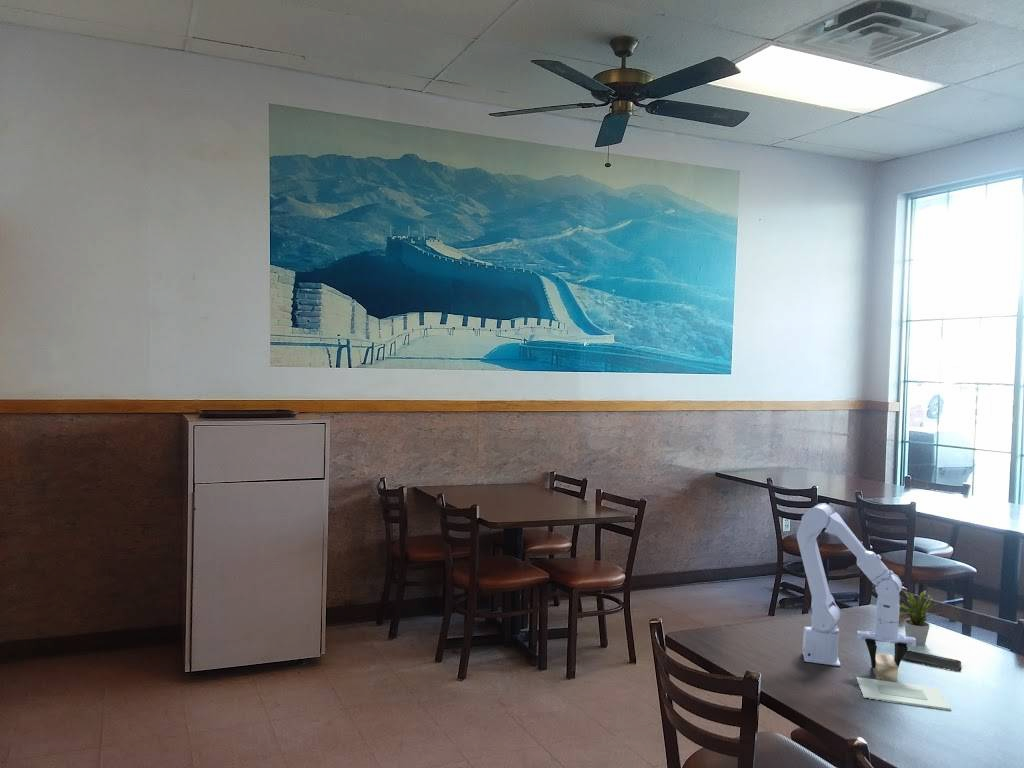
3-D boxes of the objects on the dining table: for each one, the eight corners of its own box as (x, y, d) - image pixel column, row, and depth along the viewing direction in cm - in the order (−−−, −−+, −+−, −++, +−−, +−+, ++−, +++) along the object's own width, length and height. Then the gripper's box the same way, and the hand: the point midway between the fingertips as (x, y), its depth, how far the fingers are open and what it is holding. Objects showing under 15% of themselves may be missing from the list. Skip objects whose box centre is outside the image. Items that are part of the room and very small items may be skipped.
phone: (903, 649, 238) (961, 660, 231) (903, 653, 238) (961, 664, 231) (901, 657, 231) (960, 669, 224) (901, 661, 231) (960, 673, 224)
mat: (863, 698, 204) (863, 696, 204) (856, 678, 216) (856, 676, 216) (951, 710, 199) (951, 708, 199) (938, 689, 211) (938, 687, 211)
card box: (877, 679, 217) (877, 664, 217) (871, 666, 226) (872, 652, 225) (897, 681, 216) (898, 666, 215) (890, 669, 224) (891, 654, 224)
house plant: (894, 629, 258) (897, 579, 257) (943, 640, 250) (946, 588, 249) (885, 642, 246) (888, 589, 245) (935, 653, 238) (939, 598, 237)
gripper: (860, 620, 218) (858, 669, 219) (919, 627, 214) (916, 677, 215) (856, 612, 225) (854, 660, 225) (913, 619, 221) (910, 667, 222)
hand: (884, 668), depth 221 cm, fingers closed on card box, 5 cm apart
